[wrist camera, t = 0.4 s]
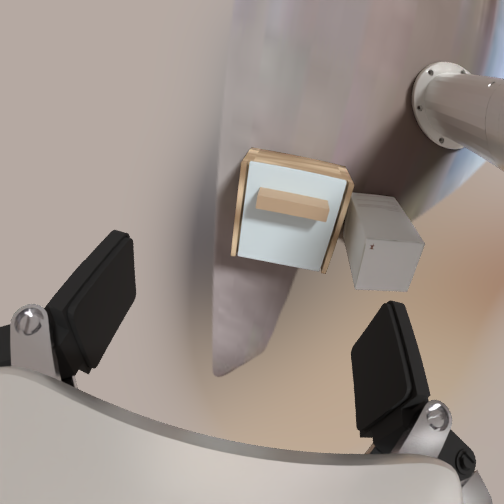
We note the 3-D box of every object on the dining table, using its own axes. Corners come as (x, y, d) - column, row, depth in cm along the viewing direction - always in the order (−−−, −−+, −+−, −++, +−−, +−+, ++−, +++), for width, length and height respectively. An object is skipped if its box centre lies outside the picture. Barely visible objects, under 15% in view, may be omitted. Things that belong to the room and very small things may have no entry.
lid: (250, 160, 32) (245, 169, 29) (345, 180, 31) (350, 190, 29) (238, 252, 40) (233, 267, 37) (318, 268, 39) (319, 283, 36)
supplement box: (341, 235, 43) (352, 290, 32) (348, 190, 38) (365, 236, 28) (385, 239, 42) (407, 294, 31) (396, 196, 37) (426, 242, 27)
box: (251, 147, 37) (241, 162, 31) (345, 166, 36) (354, 185, 31) (240, 229, 45) (230, 255, 39) (322, 245, 44) (325, 273, 38)
